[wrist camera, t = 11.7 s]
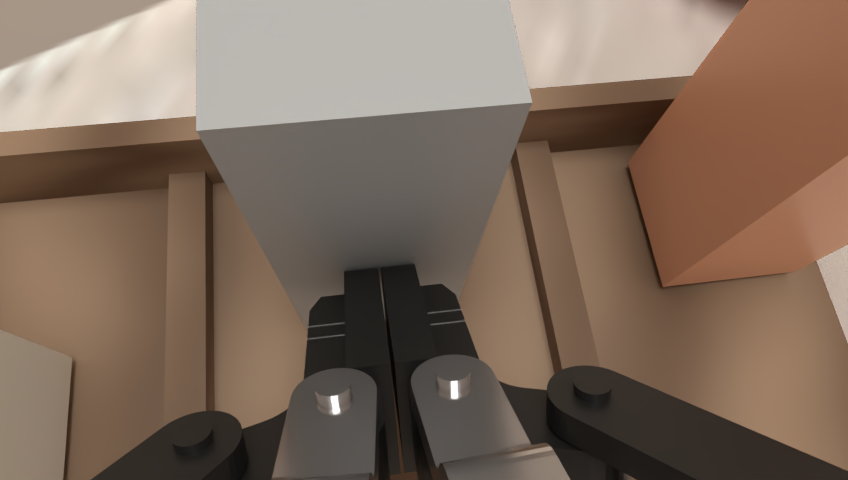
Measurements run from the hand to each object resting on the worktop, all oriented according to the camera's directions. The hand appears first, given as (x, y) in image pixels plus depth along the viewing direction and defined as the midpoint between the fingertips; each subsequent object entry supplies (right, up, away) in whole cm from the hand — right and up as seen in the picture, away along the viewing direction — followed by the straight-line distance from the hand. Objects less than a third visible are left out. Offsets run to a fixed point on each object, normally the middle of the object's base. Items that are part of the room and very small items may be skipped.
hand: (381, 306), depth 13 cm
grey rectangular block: (-1, +1, +4) cm, 4 cm away
